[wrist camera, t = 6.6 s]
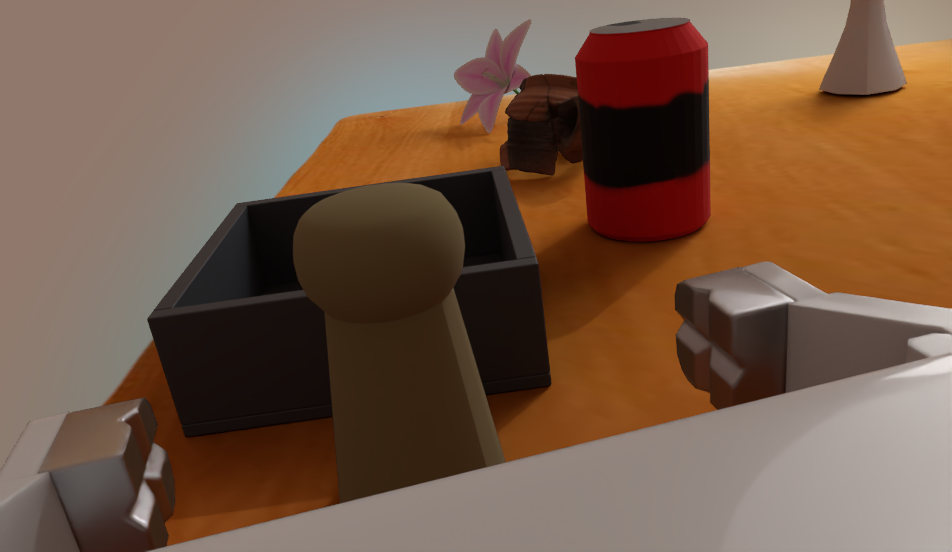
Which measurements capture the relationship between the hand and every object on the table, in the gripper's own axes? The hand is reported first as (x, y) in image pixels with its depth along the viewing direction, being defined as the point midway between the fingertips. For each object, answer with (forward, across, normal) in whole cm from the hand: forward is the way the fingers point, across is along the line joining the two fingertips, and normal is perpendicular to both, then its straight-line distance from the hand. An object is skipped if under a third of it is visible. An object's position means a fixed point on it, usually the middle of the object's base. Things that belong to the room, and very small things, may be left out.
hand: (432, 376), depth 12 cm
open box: (+26, 0, +11) cm, 29 cm away
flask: (+56, -51, +11) cm, 77 cm away
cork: (+12, 0, +12) cm, 17 cm away
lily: (+72, -19, +11) cm, 75 cm away
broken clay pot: (+51, -19, +11) cm, 55 cm away
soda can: (+33, -18, +11) cm, 40 cm away
